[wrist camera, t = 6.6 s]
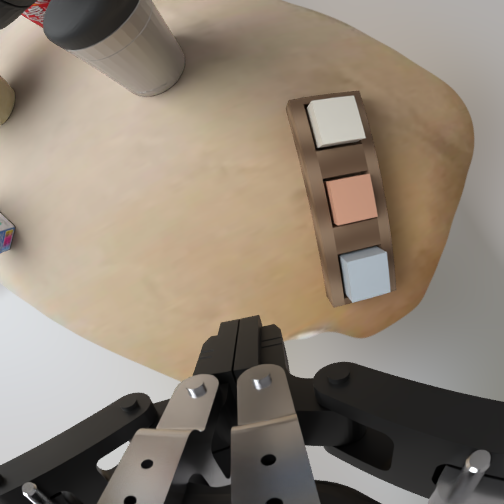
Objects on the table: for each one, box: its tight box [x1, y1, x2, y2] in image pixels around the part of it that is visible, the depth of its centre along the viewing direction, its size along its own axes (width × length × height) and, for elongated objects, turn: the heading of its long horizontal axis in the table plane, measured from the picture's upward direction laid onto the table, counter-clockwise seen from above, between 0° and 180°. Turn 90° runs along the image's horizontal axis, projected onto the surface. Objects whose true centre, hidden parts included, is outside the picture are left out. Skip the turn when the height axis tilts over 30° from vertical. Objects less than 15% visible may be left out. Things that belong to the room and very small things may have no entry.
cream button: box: [306, 96, 366, 149], centre depth 30 cm, size 5×5×4 cm
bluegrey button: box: [339, 246, 391, 303], centre depth 34 cm, size 5×5×4 cm
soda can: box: [21, 0, 51, 28], centre depth 24 cm, size 7×7×12 cm
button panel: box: [286, 91, 396, 307], centre depth 34 cm, size 25×9×4 cm, turn 14°
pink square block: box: [323, 174, 378, 225], centre depth 33 cm, size 5×5×4 cm
